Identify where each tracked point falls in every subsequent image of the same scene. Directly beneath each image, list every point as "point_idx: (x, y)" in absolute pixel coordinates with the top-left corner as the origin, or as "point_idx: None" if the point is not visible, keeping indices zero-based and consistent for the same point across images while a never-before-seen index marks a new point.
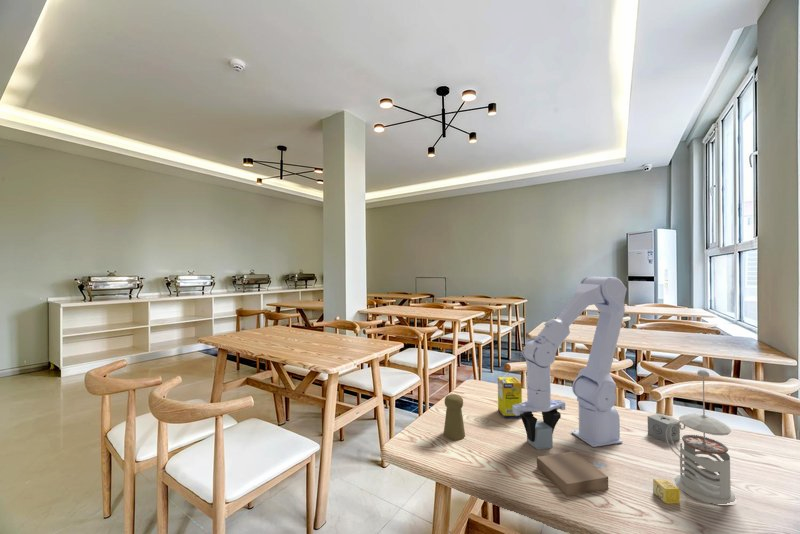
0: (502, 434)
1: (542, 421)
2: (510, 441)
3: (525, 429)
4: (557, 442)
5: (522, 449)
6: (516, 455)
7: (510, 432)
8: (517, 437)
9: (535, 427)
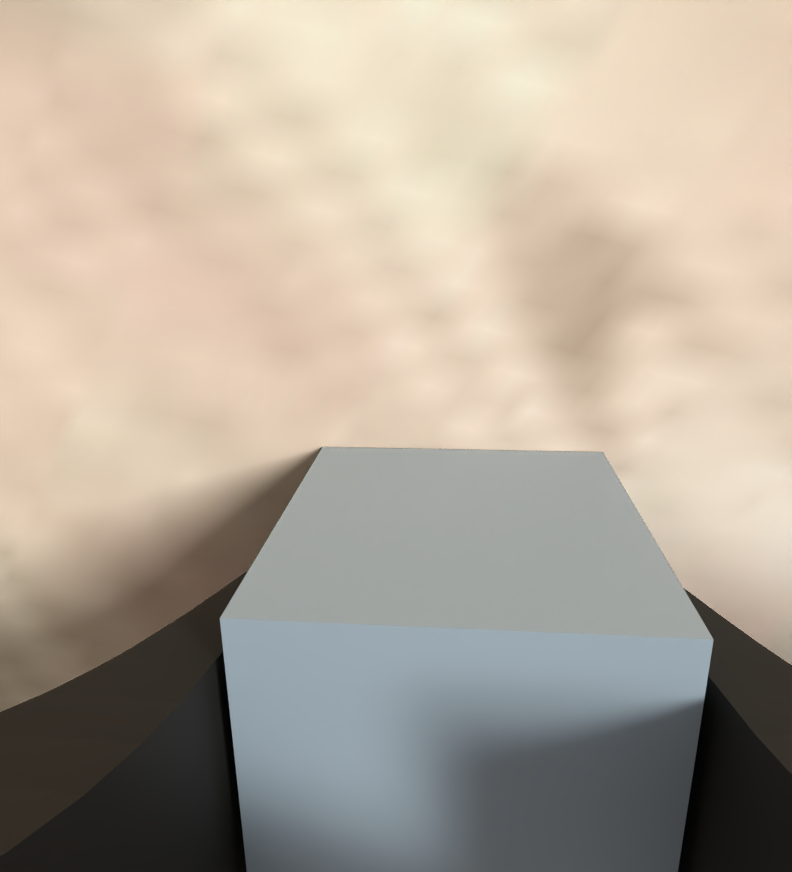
0: (5, 143)
1: (690, 699)
2: (59, 395)
3: (187, 614)
4: (765, 606)
5: (142, 619)
6: (11, 702)
7: (180, 104)
8: (224, 310)
9: (296, 866)
